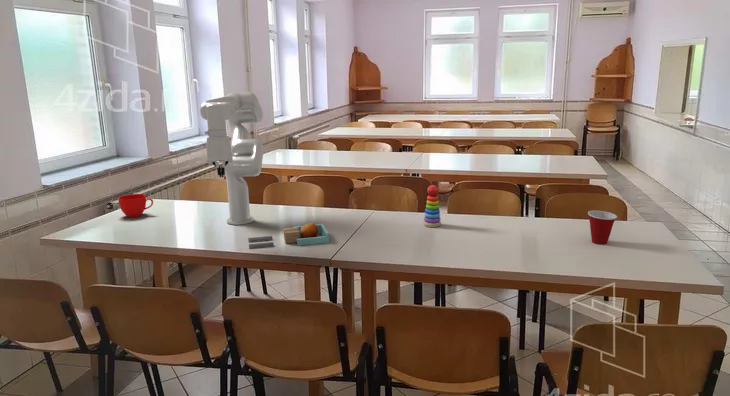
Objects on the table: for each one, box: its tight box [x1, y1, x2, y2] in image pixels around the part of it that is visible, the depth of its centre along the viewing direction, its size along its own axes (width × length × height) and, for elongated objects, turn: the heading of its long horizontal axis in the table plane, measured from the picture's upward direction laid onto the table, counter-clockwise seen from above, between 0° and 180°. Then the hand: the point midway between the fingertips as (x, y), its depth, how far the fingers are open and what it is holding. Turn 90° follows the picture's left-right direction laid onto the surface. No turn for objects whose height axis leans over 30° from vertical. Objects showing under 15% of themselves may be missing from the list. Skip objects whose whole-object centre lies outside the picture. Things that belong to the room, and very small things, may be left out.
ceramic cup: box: [118, 193, 154, 218], centre depth 275 cm, size 13×17×10 cm
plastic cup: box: [587, 210, 618, 245], centre depth 214 cm, size 11×11×12 cm
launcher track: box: [248, 235, 275, 249], centre depth 225 cm, size 10×10×2 cm
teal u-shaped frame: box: [292, 223, 330, 246], centre depth 230 cm, size 14×13×4 cm
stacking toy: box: [423, 184, 442, 228], centre depth 243 cm, size 8×8×19 cm
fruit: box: [300, 222, 319, 238], centre depth 230 cm, size 8×8×8 cm
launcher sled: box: [283, 226, 302, 244], centre depth 228 cm, size 7×7×4 cm
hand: (221, 176), depth 229 cm, fingers closed
